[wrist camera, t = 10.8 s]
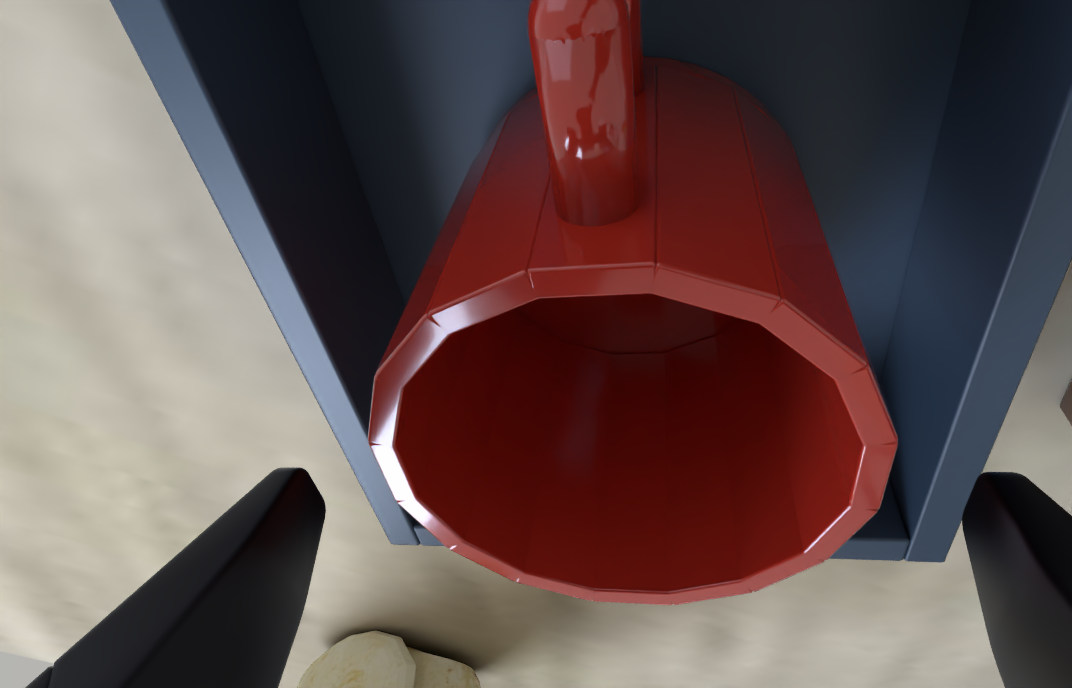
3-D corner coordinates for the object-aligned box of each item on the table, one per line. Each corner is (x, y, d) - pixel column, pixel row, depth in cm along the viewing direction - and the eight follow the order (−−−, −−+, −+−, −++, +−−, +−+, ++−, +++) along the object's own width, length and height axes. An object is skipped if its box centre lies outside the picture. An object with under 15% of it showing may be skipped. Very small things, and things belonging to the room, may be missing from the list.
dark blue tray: (1110, -412, 8) (1406, -523, 5) (891, 415, 17) (944, 563, 14) (201, -207, 11) (7, -192, 7) (433, 419, 20) (390, 545, 17)
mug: (789, 344, 15) (851, 615, 10) (501, 352, 17) (439, 595, 12) (845, -155, 9) (1044, -62, 5) (393, -79, 11) (180, 54, 6)
